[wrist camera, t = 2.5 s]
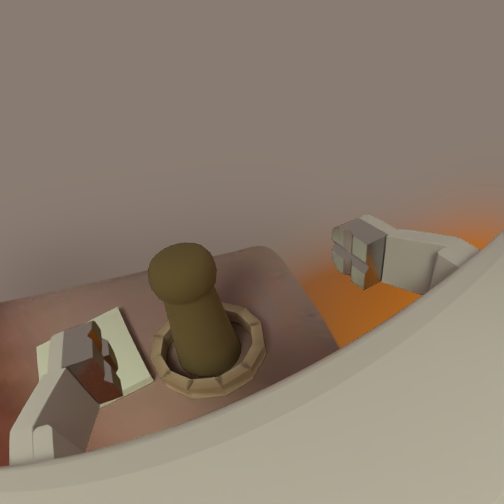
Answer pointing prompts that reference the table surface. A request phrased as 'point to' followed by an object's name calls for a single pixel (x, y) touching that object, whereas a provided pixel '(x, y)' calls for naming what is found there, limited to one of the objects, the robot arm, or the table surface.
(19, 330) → the table surface
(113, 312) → the ceramic tile
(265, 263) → the table surface
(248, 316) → the ring
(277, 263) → the table surface
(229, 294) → the table surface
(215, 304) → the cork
